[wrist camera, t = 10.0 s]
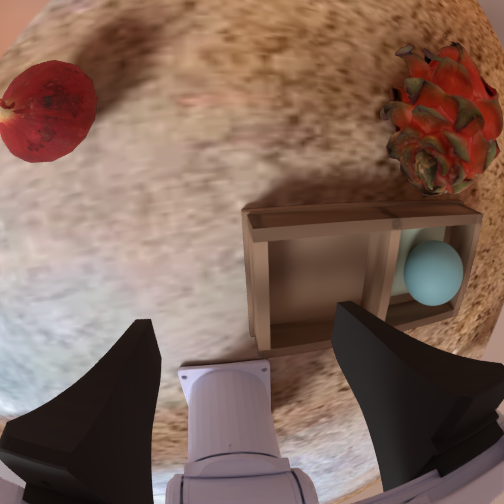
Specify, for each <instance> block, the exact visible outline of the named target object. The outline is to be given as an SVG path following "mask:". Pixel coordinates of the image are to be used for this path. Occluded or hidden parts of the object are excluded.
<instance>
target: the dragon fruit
mask: <svg viewBox="0 0 504 504" xmlns="http://www.w3.org/2000/svg"><path fill="white" fill-rule="evenodd" d="M443 35H444V34H443ZM445 37H447V36H445ZM451 42H452V41H451ZM450 45H451V46H447V47H443V48H441V49H440V50H439V55H440V57H439V56H438V55H437V54H433V53H431V52H430V51H428V50H427V49H425V48H424V50H423V52H424V54H425V58H424V60H423V58H421V57H420V56H418V55H417V54H414V53H411V51H412V50H413V48H414V46H412V45H408V46H405V47H402V48H400V49H399V50H397V51H396V53H395V55H396V56H400V57H401V58H403V59H404V60H405V61H406V63H407V65H408V70H409V73H410V78H405V81H404V89H402V88H399V87H392V88H391V89H390V92H389V94H390V102H388V103H386V104H385V105H384V106H383V107H382V109H381V111H380V118H382V119H383V120H389V118H390V119H391V120H392V121H393V123H394V124H395V127H396V132H395V133H394V134H393V135H392V136H391V137H390V139H389V141H388V144H387V146H386V148H387V154H388V157H390V158H393V159H397V160H398V161H400V170H401V172H402V173H403V175H404V176H405V177H406V178H407V179H408V180H409V182H410V183H412V184H413V186H418V189H419V190H420V192H421V193H422V194H423V196H424V197H430V196H438V195H441V194H443V193H444V194H446V193H447V192H448V193H450V194H451V195H454V194H458V193H460V192H462V191H464V190H465V189H466V188H468V187H470V186H471V185H472V183H473V182H474V181H475V176H474V175H475V174H476V173H477V174H483V173H484V171H485V170H486V169H487V167H488V166H489V165H490V163H491V162H492V161H493V160H494V159H495V158H496V157H497V156H498V154H499V153H500V149H499V147H498V144H497V141H496V140H495V139H496V138H497V137H498V136H499V135H500V134H501V131H502V128H503V118H502V111H501V108H500V105H499V102H498V94H497V91H496V89H494V88H492V87H490V86H489V85H488V84H487V83H486V82H485V80H484V79H483V77H481V75H480V73H479V70H478V67H477V65H476V64H475V63H474V62H473V61H472V60H473V59H472V60H471V58H470V57H469V56H468V54H467V52H466V50H465V49H464V47H463V46H461V45H460V44H459V43H458V44H457V43H454V42H452V44H450ZM429 63H430V65H429ZM397 100H398V101H397ZM388 117H389V118H388Z"/></svg>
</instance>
